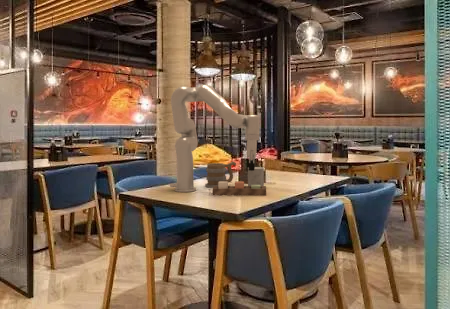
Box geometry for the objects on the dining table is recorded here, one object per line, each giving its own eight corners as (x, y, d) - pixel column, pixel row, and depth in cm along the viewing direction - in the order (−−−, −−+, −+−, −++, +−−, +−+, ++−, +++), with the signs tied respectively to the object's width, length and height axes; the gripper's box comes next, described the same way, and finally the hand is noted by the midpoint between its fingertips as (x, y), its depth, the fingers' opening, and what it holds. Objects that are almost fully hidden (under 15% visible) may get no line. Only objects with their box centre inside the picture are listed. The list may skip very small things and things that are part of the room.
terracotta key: (234, 190, 224) (234, 182, 224) (235, 189, 229) (235, 181, 229) (243, 190, 224) (243, 182, 224) (244, 189, 229) (244, 181, 229)
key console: (212, 195, 223) (212, 188, 223) (214, 192, 233) (214, 185, 233) (266, 195, 221) (266, 189, 220) (265, 192, 231) (265, 186, 230)
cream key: (218, 190, 225) (218, 182, 225) (219, 189, 230) (219, 181, 230) (227, 190, 225) (227, 182, 224) (228, 189, 230) (228, 181, 229)
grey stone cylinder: (266, 187, 246) (266, 167, 245) (259, 190, 238) (259, 169, 237) (252, 186, 251) (252, 166, 250) (245, 189, 242) (244, 168, 241)
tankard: (210, 188, 244) (209, 163, 243) (203, 185, 256) (202, 161, 254) (240, 186, 252) (240, 162, 250) (232, 183, 263) (232, 160, 262)
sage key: (251, 194, 224) (251, 186, 224) (251, 192, 229) (251, 184, 228) (260, 194, 224) (260, 186, 223) (260, 192, 228) (260, 184, 228)
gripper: (246, 136, 234) (245, 168, 235) (244, 137, 219) (244, 172, 221) (259, 136, 233) (258, 168, 235) (258, 138, 218) (258, 172, 220)
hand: (251, 170), depth 228 cm, fingers closed
